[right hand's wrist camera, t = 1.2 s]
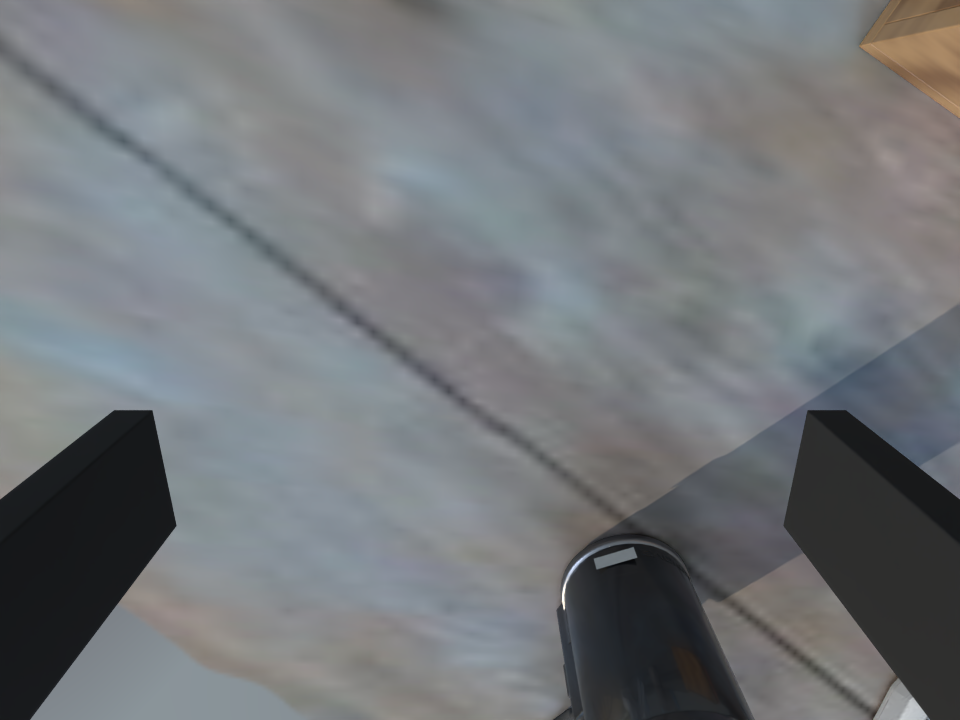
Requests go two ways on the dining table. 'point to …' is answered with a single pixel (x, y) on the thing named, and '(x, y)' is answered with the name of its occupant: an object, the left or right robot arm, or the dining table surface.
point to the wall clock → (900, 705)
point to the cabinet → (921, 46)
